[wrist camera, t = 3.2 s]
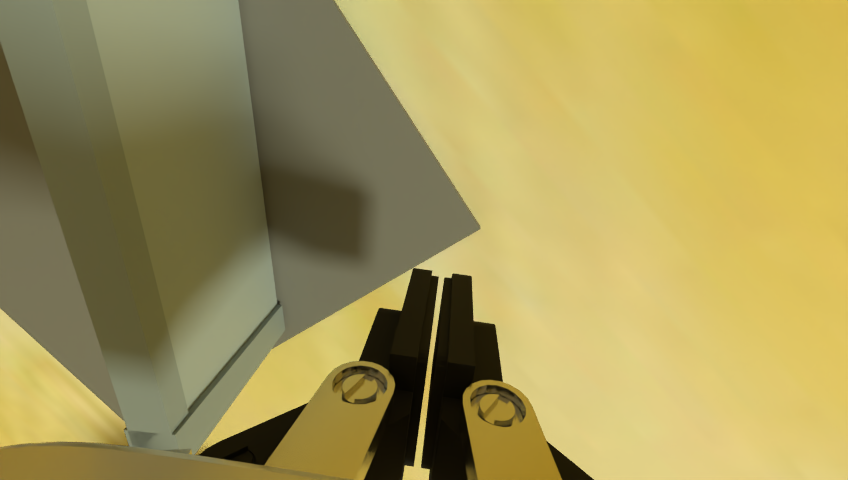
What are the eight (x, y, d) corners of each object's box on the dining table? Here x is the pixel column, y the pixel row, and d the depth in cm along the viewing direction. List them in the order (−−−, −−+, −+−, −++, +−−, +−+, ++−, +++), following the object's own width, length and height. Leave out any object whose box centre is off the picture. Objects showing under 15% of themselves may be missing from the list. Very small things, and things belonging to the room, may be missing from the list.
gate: (188, -81, 12) (-104, -255, 6) (234, -81, 12) (-13, -260, 6) (252, 327, 17) (135, 463, 11) (285, 330, 17) (184, 468, 11)
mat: (171, -252, 11) (163, -261, 10) (479, 226, 15) (480, 228, 15) (-154, 156, 16) (-165, 157, 16) (137, 424, 20) (132, 429, 20)
